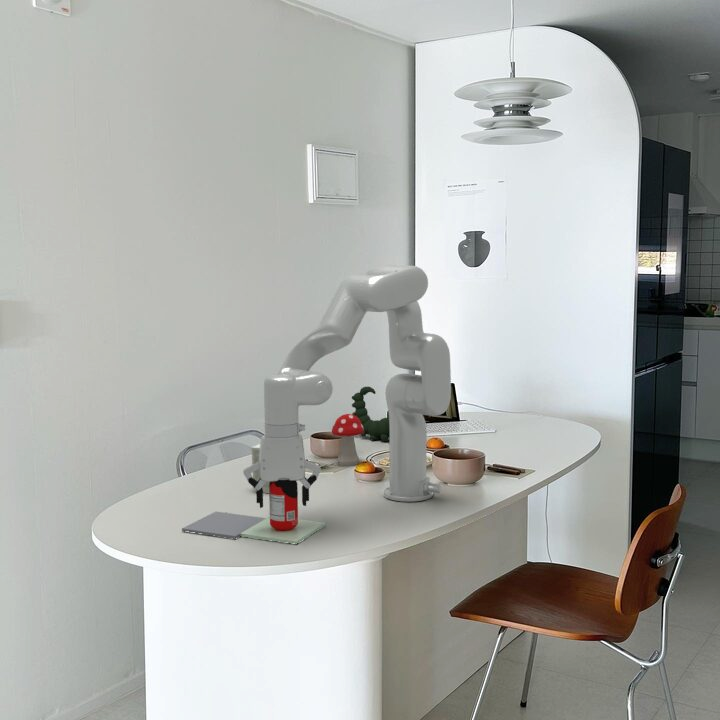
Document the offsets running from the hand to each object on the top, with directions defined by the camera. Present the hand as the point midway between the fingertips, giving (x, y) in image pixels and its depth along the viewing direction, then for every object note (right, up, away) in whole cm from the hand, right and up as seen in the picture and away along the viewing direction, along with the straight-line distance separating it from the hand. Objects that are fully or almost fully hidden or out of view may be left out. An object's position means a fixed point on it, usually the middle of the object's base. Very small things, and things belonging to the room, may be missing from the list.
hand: (282, 505), depth 196 cm
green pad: (0, -6, +1) cm, 6 cm away
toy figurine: (+26, +5, +94) cm, 98 cm away
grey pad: (-14, -6, +4) cm, 15 cm away
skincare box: (-7, -2, +34) cm, 35 cm away
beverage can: (0, -5, +1) cm, 6 cm away
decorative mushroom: (+14, +2, +63) cm, 64 cm away
